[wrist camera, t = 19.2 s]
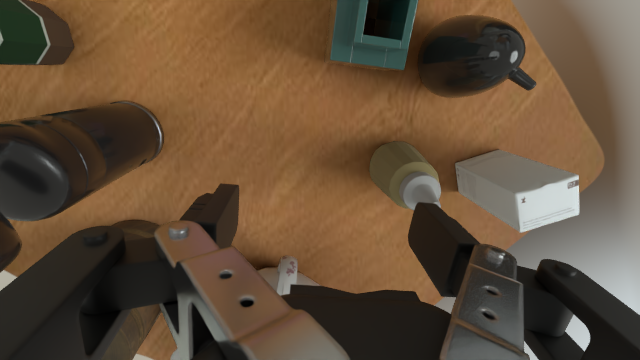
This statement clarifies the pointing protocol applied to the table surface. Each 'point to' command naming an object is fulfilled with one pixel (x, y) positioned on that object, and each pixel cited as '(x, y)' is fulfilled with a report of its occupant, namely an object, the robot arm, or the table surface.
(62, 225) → the table surface
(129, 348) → the wooden container
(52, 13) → the beer bottle
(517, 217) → the cosmetic box
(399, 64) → the green square vase
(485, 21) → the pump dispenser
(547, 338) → the robot arm
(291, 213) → the table surface
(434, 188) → the squeeze bottle
